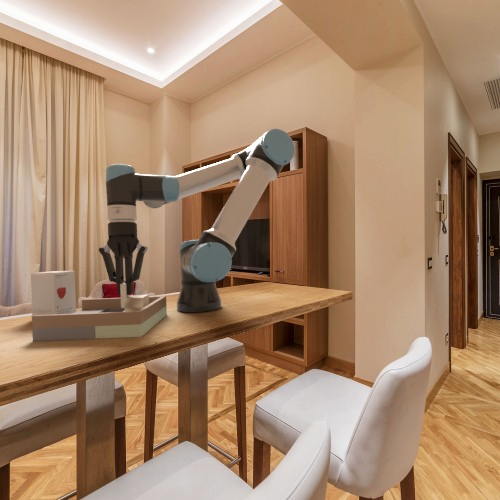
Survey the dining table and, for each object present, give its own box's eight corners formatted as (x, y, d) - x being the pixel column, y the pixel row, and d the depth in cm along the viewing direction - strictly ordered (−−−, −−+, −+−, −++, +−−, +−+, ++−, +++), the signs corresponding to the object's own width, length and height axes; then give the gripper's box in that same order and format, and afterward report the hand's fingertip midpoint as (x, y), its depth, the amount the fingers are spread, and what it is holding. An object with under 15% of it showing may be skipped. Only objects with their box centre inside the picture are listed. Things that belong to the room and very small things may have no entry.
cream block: (149, 312, 90) (148, 294, 90) (143, 316, 85) (142, 297, 85) (131, 312, 90) (131, 295, 90) (125, 316, 85) (124, 298, 85)
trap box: (166, 314, 100) (166, 296, 99) (141, 336, 76) (140, 311, 75) (84, 318, 99) (83, 299, 99) (32, 341, 75) (31, 316, 75)
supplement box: (55, 321, 97) (53, 272, 97) (31, 320, 99) (29, 273, 98) (77, 314, 106) (75, 270, 106) (54, 314, 108) (52, 270, 107)
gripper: (92, 221, 83) (95, 310, 84) (141, 220, 83) (144, 308, 84) (105, 223, 91) (108, 305, 91) (150, 222, 91) (153, 303, 91)
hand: (125, 306), depth 87 cm, fingers closed
